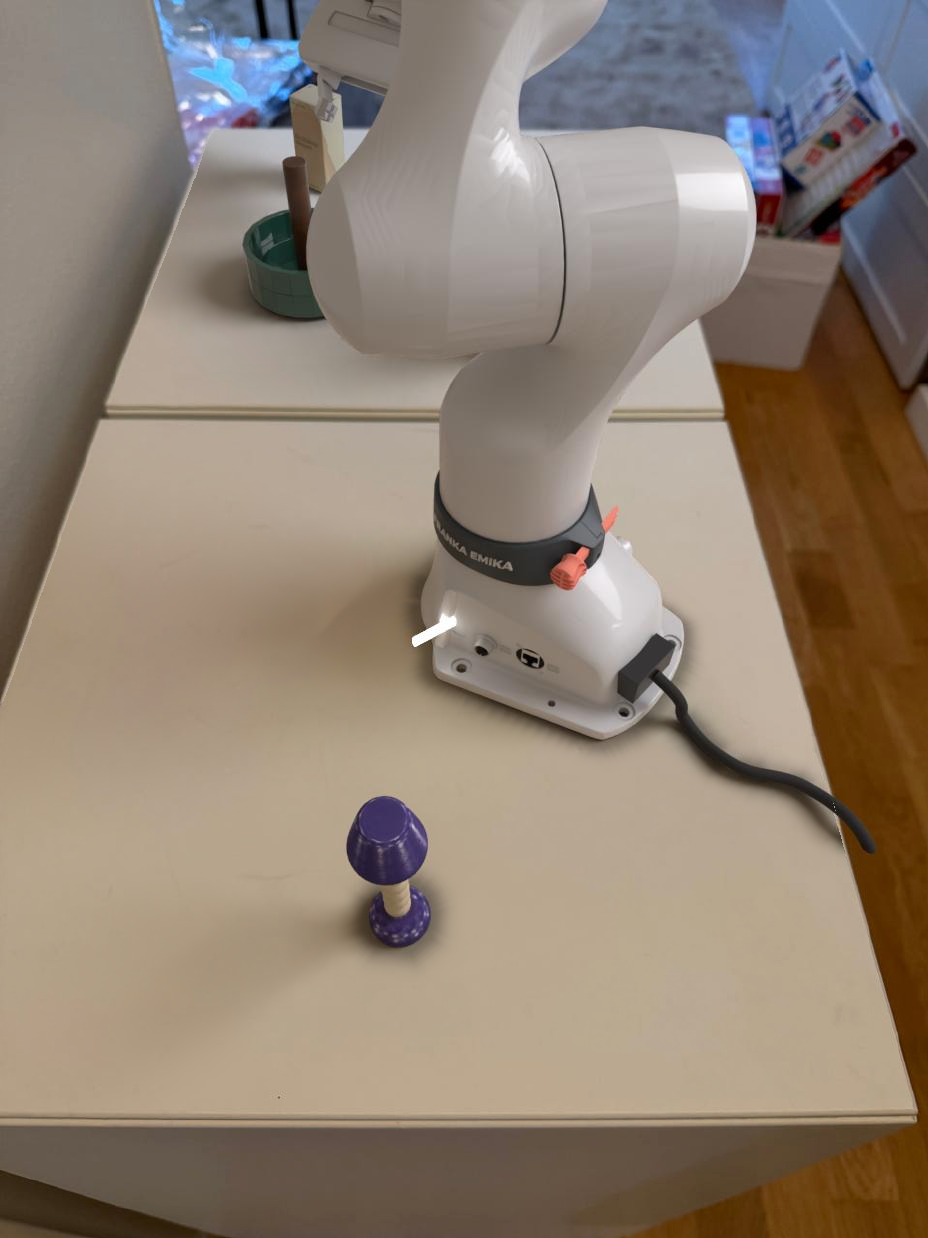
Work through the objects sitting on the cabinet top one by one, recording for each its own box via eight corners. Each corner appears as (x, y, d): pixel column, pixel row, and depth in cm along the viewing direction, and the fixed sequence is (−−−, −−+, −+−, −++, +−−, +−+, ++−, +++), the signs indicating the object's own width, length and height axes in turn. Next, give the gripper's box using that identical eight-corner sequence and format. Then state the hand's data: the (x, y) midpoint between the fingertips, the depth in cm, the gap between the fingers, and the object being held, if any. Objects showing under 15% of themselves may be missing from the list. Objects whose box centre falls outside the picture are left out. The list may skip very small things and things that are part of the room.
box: (297, 183, 121) (285, 93, 112) (318, 169, 123) (309, 81, 114) (328, 195, 119) (319, 106, 110) (349, 181, 121) (341, 92, 113)
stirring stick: (324, 281, 107) (310, 160, 96) (310, 290, 106) (294, 169, 94) (308, 273, 108) (292, 153, 96) (294, 283, 106) (277, 162, 95)
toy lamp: (433, 953, 62) (429, 855, 48) (363, 959, 61) (340, 861, 48) (429, 884, 64) (424, 772, 51) (362, 888, 64) (340, 778, 51)
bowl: (391, 280, 108) (389, 232, 103) (317, 336, 101) (310, 288, 97) (304, 242, 113) (298, 194, 108) (227, 294, 106) (217, 246, 101)
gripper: (315, -42, 97) (266, 90, 100) (475, 4, 90) (418, 144, 93) (346, -7, 103) (299, 117, 106) (499, 40, 96) (444, 171, 99)
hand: (356, 130), depth 99 cm, fingers open, 8 cm apart
